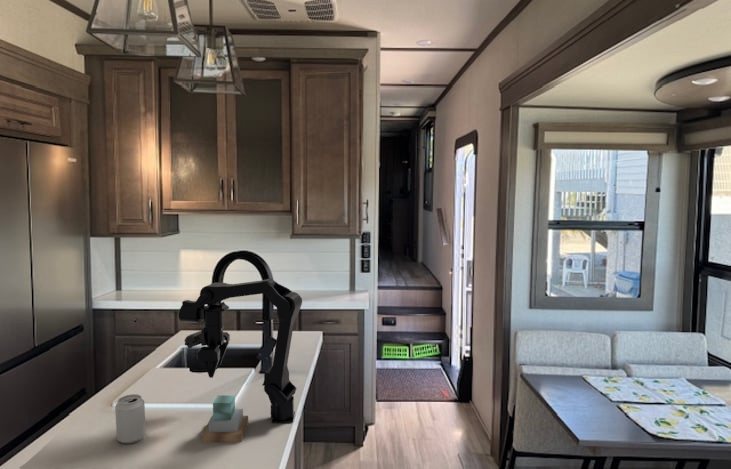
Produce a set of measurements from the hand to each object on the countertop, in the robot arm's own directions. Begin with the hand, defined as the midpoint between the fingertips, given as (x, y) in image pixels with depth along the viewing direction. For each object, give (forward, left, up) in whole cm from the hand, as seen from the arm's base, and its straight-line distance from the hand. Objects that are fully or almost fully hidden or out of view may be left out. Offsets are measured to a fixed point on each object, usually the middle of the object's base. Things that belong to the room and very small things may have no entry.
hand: (214, 371), depth 157 cm
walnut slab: (-6, +14, -14) cm, 20 cm away
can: (+20, +16, -13) cm, 29 cm away
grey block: (-6, +14, -11) cm, 19 cm away
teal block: (-6, +14, -8) cm, 17 cm away
